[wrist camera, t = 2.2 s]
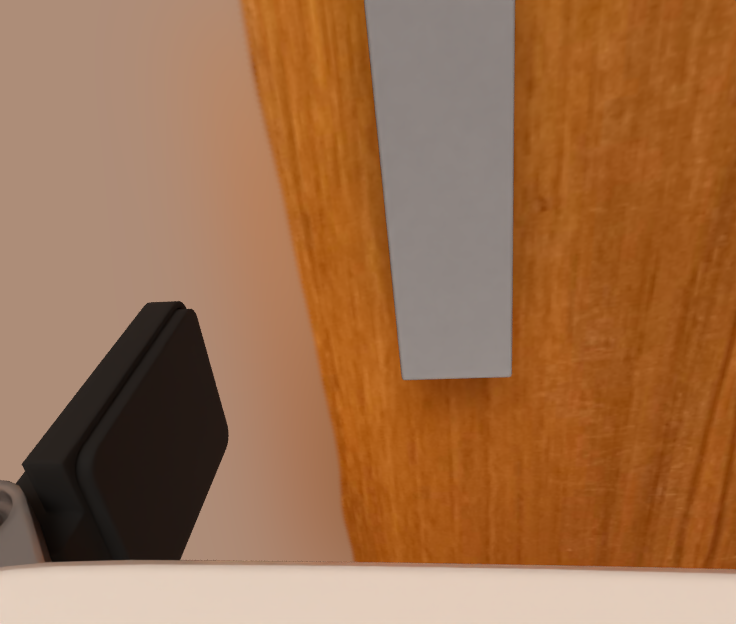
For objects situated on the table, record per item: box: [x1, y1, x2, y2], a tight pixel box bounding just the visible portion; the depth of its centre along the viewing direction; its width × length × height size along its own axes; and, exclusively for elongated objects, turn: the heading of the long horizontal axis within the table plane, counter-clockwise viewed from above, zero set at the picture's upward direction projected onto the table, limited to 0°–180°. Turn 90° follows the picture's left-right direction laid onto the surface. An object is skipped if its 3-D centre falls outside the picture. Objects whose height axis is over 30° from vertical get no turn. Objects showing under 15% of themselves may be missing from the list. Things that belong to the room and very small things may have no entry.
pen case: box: [364, 0, 515, 380], centre depth 20 cm, size 14×4×4 cm, turn 6°
